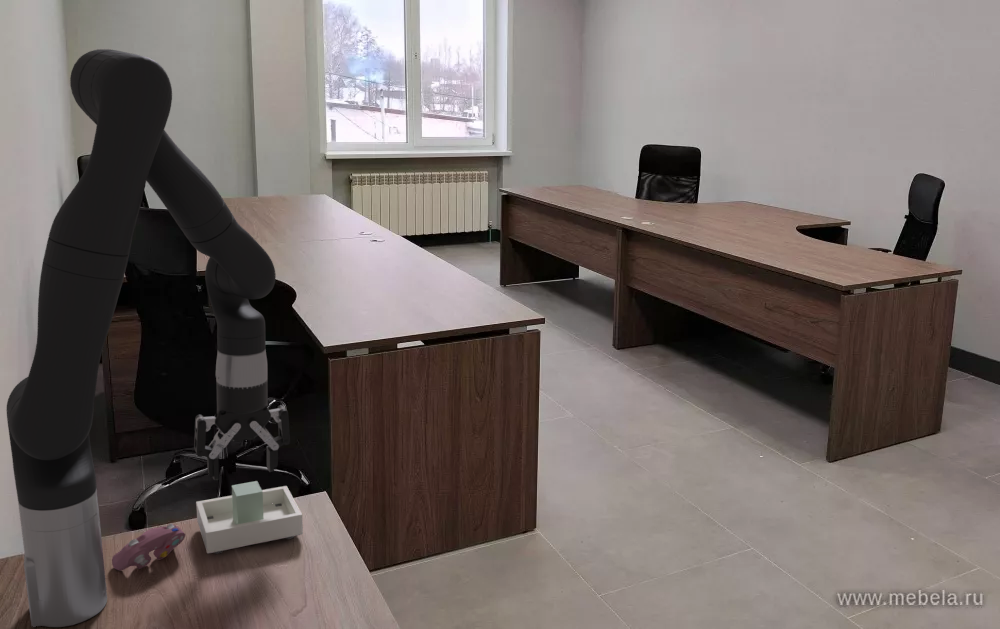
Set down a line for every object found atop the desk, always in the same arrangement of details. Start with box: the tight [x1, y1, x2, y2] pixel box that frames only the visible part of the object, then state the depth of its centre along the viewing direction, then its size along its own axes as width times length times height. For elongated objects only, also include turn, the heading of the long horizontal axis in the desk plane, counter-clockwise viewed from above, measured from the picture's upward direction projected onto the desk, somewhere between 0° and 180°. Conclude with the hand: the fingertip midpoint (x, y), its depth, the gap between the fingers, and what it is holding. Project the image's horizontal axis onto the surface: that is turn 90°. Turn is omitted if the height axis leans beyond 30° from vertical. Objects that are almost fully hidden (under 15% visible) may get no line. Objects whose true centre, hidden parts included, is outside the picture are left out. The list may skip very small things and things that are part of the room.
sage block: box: [231, 480, 264, 525], centre depth 133 cm, size 4×4×6 cm
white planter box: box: [195, 485, 304, 555], centre depth 133 cm, size 15×11×5 cm
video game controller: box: [111, 522, 186, 571], centre depth 125 cm, size 10×5×7 cm, turn 144°
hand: (243, 473), depth 131 cm, fingers open, 8 cm apart
